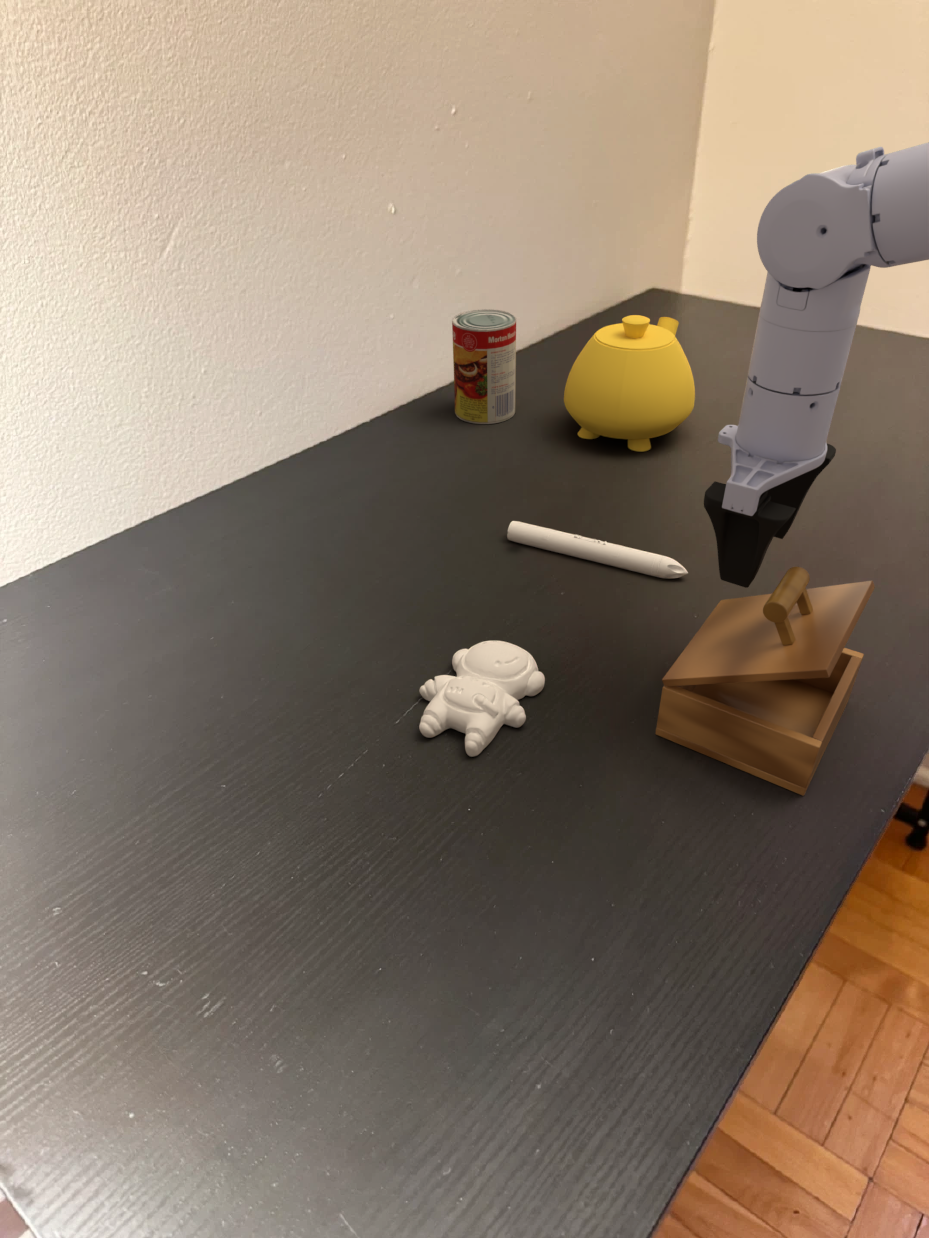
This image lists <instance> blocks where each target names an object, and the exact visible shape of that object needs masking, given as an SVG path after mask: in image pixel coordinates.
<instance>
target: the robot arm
mask: <svg viewBox="0 0 929 1238" xmlns="http://www.w3.org/2000/svg"><path fill="white" fill-rule="evenodd" d="M756 231H757V232H756V246H757V251H758V252H757V253H758V255H759V258H760V261H761V263H762V265H763V267H764V268H765V270H766V278H765V283H764V289H763V293H762V298H761V303H760V308H759V313H758V318H757V323H756V328H755V334H754V340H753V344H752V348H751V355H750V360H749V365H748V371H747V377H746V381H745V388H744V392H743V397H742V401H741V402H742V403H741V408H740V413H739V419H738V424H737V425H736V424H726V425H725V426H723V428H722V429H721V430H719V432H718V436H717V442H718V443H719V444H721V445H723V446H728V447H729V448H730V475H729V478H728V479H727V480H726V483H723V482H720V481H713V483H711V484H710V486H708V488H707V489H706V490H705V492H704V496H703V507H704V509H705V511H706V513H707V515H708V517H709V520H710V522H711V524H712V528H713V531H714V535H715V540H716V549H717V562H718V572H719V578H720V579H719V580H721V581H722V582H726V583H730V584H733V585H735V586H739V587H742V588H746V589H747V588H748V589H749V588H750V585H751V584H752V583H753V581H754V580H755V578H756V577H757V575H758V573H759V571H760V568H761V566H762V563H763V561H764V559H765V556H766V554H767V551H768V550H769V547H770V545H771V543H772V541H773V539H774V538H775V539H780V540H783V539H784V538H785V536H786V535H787V534H788V532H789V531H790V529H791V527H792V525H793V523H794V522H795V519H796V517H797V515H798V513H799V511H800V508H801V506H802V504H803V502H804V500H805V498H806V496H807V495H808V494H807V493H808V492H809V491H810V489H811V487H812V485H813V484H814V482H815V480H817V478H818V476H819V475H820V474H821V473H822V472H823V470H824V469H825V468H826V467H828V465H830V463H831V462H832V460H833V459H834V458H835V456H836V453H837V448H836V447H835V446H834V445H832V444H831V443H827V441H828V436H829V432H830V429H831V428H830V427H831V424H832V421H833V417H834V414H835V409H836V406H837V402H838V398H839V395H840V390H841V386H842V384H843V383H842V382H843V380H844V379H843V378H844V374H845V372H846V371H845V370H846V367H847V363H848V360H849V355H850V351H851V349H852V344H853V340H854V337H855V333H856V328H857V325H858V320H859V318H860V313H861V306H862V303H863V298H864V294H865V290H866V288H867V283H868V279H869V275H870V271H871V267H876V268H879V269H880V268H881V269H885V268H887V269H888V268H892V267H897V266H903V265H909V264H913V263H918V262H919V263H920V262H923V261H929V141H928V142H925V143H921V144H918V145H914V146H909V147H907V148H903V149H900V150H896V151H892V152H888V153H885V149H884V147H883V146H878V147H874V148H871V149H867V150H864V151H861V152H858V153H857V155H856V157H855V164H846V165H841V166H838V167H834V168H832V169H828V170H825V171H821V172H813V173H812V172H811V173H807V174H805V175H804V176H802V177H801V178H799V179H797V180H795V181H793V182H792V183H790V184H788V185H786V186H785V187H783V188H781V189H780V190H779V191H777V192H776V193H775V195H773V196H772V197H771V199H770V200H769V201H768V203H767V204H766V206H765V207H764V210H763V211H762V213H761V216H760V219H759V222H758V226H757V230H756Z"/></svg>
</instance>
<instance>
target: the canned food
mask: <svg viewBox="0 0 929 1238" xmlns="http://www.w3.org/2000/svg"><path fill="white" fill-rule="evenodd" d="M451 325H452V326H451V328H452V329H451V330H452V331H451V332H452V355H453V356H452V358H453V360H452V361H453V363H452V364H453V389H454V390H453V392H454V394H453V395H454V414H455V416H456V417H457V418H458V419H460V420H461V421H464V422H465V423H470V424H475V425H493V424H499V423H502V422H505V421H508V420H510V419H511V418H513V417H514V416H515V413H516V380H517V379H516V378H517V377H516V375H517V374H516V373H517V372H516V371H517V369H516V368H517V367H516V366H517V317H516V315H514V314H513V313H511V312H508V311H505V310H501V309H494V308H493V309H492V308H479V309H471V310H466V311H463V312H460V313H457V314H455V315H454V316H453V317H452V319H451Z"/></svg>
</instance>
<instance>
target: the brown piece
mask: <svg viewBox="0 0 929 1238" xmlns="http://www.w3.org/2000/svg"><path fill="white" fill-rule="evenodd" d="M810 581H811V577H810V574H809V572H808V571H807V569H805V568H803V567H801V566H792V567H790V568H789V569H787V571H786V572H785V573H784V575H783V577H782V578H781V580H780V581H779V583H778V584H777V585H776V587H775V589H774V590H773V591H772V593H765V594H758V595H749V596H742V597H735V598H726V599H720V601H719V602H718V604H717V605H716V606H715V607H714V608H713V610H712V611H711V612H710V614H709V615H708V617H707V618H706V619H705V621H704V622H703V623H702V625H701V626H700V627H699V629H698V630H697V631H696V633H695V634H694V635H693V637H692V638H691V640H689V642H688V644H687V645H686V646H685V647H684V650H682V652H681V653H680V654H679V656H678V657H677V658H676V660H675V661H674V663H673V664H672V665H671V667H670V668H669V669H668V671H666V673H665V675H664V676H663V677H662V679H661V681H662V684H663V686H682V685H700V684H719V683H737V682H755V681H773V680H792V679H810V678H828V677H830V675H831V673H832V671H833V669H834V667H835V665H836V663H837V661H838V659H839V657H840V655H841V653H842V651H843V649H844V648H846V645H847V643H848V641H849V639H850V638H851V635H852V634H853V631H854V629H855V628H856V626H857V623H858V622H859V620H860V618H861V616H862V615H863V612H864V610H865V608H866V606H867V605H868V602H869V600H870V598H871V596H872V594H873V592H874V590H875V588H876V586H875V583H874V580H865V581H859V582H858V581H857V582H851V583H849V582H848V583H844V584H843V583H841V584H834V585H827V586H826V585H825V586H819V587H811V588H806V587H807V586H808V584H809V583H810Z"/></svg>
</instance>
